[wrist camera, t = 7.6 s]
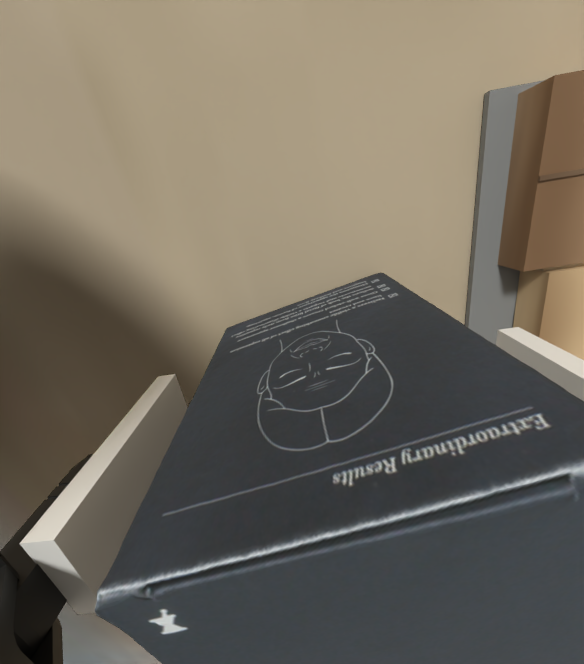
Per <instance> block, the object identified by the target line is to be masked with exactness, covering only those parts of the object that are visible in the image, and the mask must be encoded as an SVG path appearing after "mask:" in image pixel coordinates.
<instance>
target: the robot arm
mask: <svg viewBox="0 0 584 664" xmlns="http://www.w3.org/2000/svg"><path fill="white" fill-rule="evenodd" d="M496 345H497V346H498V347H500V348H501V349H503V350H504V351H506V352H507V353H509V354H510V355H512V356H513V357H515V358H517V359H518V360H520V361H521V362H523V363H525V364H527V365H528V366H530V367H532V368H534V369H535V370H537V371H538V372H539V373H541V374H542V375H544V376H545V377H547V378H549V379H550V380H552V381H553V382H555V383H556V384H558V385H560V386H561V387H563V388H564V389H565V390H567V391H568V392H569V393H571V394H573V395H574V396H576V397H578V398H579V399H581V400H583V401H584V360H582V359H580V358H578V357H576V356H574V355H572V354H570V353H568V352H566V351H564V350H563V349H561V348H559V347H557V346H555V345H553V344H551V343H549V342H547V341H545V340H543V339H541V338H539V337H537V336H535V335H533V334H531V333H529V332H527V331H525V330H523V329H521V328H519V327H515V328H507V329H500V330H498V333H497V341H496ZM187 408H188V407H187V405H186V402H185V399H184V396H183V393H182V391H181V388H180V385H179V382H178V380H177V377H176V374H172V375H164V376H158V377H157V378H156V379H155V381H154V382H153V383H152V384H151V385H150V387H149V388H148V389H147V390H146V391H145V393H144V394H143V395H142V396H141V398H140V399H139V400H138V401H137V402H136V404H135V405H134V406H133V407H132V408H131V410H130V411H129V412H128V413H127V414H126V416H125V417H124V418H123V419H122V420H121V422H120V423H119V424H118V425H117V426H116V428H115V429H114V430H113V431H112V433H111V434H110V435H109V436H108V437H107V439H106V440H105V441H104V442H103V443H102V445H101V446H100V447H99V448H98V449H97V451H96V452H95V453H94V454H90V455H88V456H87V457H86V458H85V459H83V460H82V461H81V462H80V463H78V464H77V465H76V466H75V467H73V468H72V469H71V470H70V472H69V473H68V474H67V475H66V476H65V477H64V479H63V480H62V481H61V482H60V483H59V486H58V487H56V488H55V489H54V490H53V491H52V492H51V494H50V495H49V496H48V499H47V500H44V502H43V503H42V504H41V505H40V506H39V507H38V509H37V510H36V511H35V512H34V513H33V514H32V515H31V517H30V518H29V519H28V520H27V521H26V522H25V524H24V525H23V526H22V527H21V528H20V529H19V530H18V532H17V533H16V534H15V535H14V536H13V537H12V539H11V540H10V541H9V542H8V543H7V544H6V545H5V547H4V548H3V549H2V550H1V551H0V664H63V649H62V627H61V624H60V621H59V619H58V618H57V616H58V615H59V613H60V611H61V609H62V608H63V606H64V604H65V603H66V602H67V603H68V604H69V605H70V606H71V608H72V609H73V610H74V611H75V613H76V614H77V615H80V614H92V613H95V606H96V602H97V591H98V589H99V587H100V586H101V584H102V582H103V581H104V579H105V577H106V576H107V574H108V572H109V570H110V568H111V566H112V564H113V562H114V560H115V559H116V557H117V555H118V552H119V550H120V547H121V545H122V542H123V540H124V538H125V536H126V534H127V532H128V530H129V528H130V526H131V524H132V522H133V520H134V517H135V515H136V513H137V511H138V509H139V507H140V505H141V503H142V501H143V499H144V497H145V495H146V493H147V491H148V490H149V487H150V485H151V483H152V481H153V479H154V477H155V474H156V472H157V470H158V468H159V467H160V465H161V462H162V459H163V457H164V455H165V454H166V452H167V450H168V448H169V446H170V443H171V441H172V439H173V437H174V435H175V433H176V431H177V429H178V427H179V425H180V423H181V421H182V419H183V417H184V415H185V413H186V410H187Z"/></svg>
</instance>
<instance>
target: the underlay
mask: <svg viewBox="0 0 584 664" xmlns="http://www.w3.org/2000/svg"><path fill="white" fill-rule="evenodd" d="M544 81H545V80H544ZM541 82H543V81H539V82H533V83H528V84H523V85H517V86H512V87H507V88H501V89H496V90H491V91H488V92H487V93H485V95H484V107H483V118H482V130H481V142H480V154H479V165H478V177H477V189H476V201H475V212H474V224H473V236H472V248H471V259H470V271H469V283H468V294H467V306H466V318H465V326H466V327H468V328H469V329H471V330H473V331H474V332H476V333H477V334H479V335H481V336H482V337H484V338H485V339H486V340H488V341H490V342H492V343H493V344H495V345H496V341H497V333H498V330H500V329H507V328H513V323H514V315H515V307H516V299H517V291H518V283H519V275H520V271H519V270H515V269H512V268H508V267H504V266H500V265H498V256H499V248H500V240H501V232H502V224H503V215H504V207H505V199H506V191H507V183H508V175H509V166H510V158H511V150H512V142H513V134H514V125H515V117H516V109H517V101H518V94H519V93H521V92H523V91H525V90H527V89H529V88H531V87H533V86H535V85H537V84H539V83H541Z"/></svg>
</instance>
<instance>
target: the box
mask: <svg viewBox="0 0 584 664" xmlns="http://www.w3.org/2000/svg"><path fill="white" fill-rule="evenodd" d="M95 613H96V615H97V616H99V617H101V618H103V619H104V620H106V621H108V622H109V623H111V624H113V625H115V626H116V627H118V628H120V629H121V630H122V631H124V632H125V633H126V634H128V635H129V636H130V637H132V638H133V639H134V641H136V642H137V643H138V644H140V645H141V646H142V647H143V648H144V649H145V650H146V651H148V652H149V653H150V654H151V655H153V656H154V657H155V658H156V659H157V660H159V661H160V662H161V663H162V664H584V401H583V400H581V399H579V398H578V397H576V396H574V395H573V394H571V393H569V392H568V391H567V390H565V389H564V388H563V387H561V386H560V385H558V384H556V383H555V382H553V381H552V380H550V379H549V378H547V377H545V376H544V375H542V374H541V373H539V372H538V371H537V370H535V369H534V368H532V367H530V366H528V365H527V364H525V363H523V362H521V361H520V360H518V359H517V358H515V357H513V356H512V355H510V354H509V353H507V352H506V351H504V350H503V349H501V348H500V347H498V346H497V345H495V344H493V343H492V342H490V341H488V340H486V339H485V338H484V337H482V336H481V335H479V334H477V333H476V332H474V331H473V330H471V329H469V328H468V327H466V326H465V325H463V324H462V323H460V322H459V321H457V320H456V319H454V318H453V317H451V316H450V315H448V314H446V313H445V312H443V311H442V310H440V309H439V308H437V307H435V306H434V305H433V304H430V303H429V302H428V301H426V300H424V299H423V298H421V297H419V296H418V295H417V294H415V293H413V292H412V291H410V290H409V289H407V288H405V287H404V286H403V285H401V284H399V283H398V282H396V281H395V280H393V279H392V278H390V277H389V276H387V275H385V274H384V273H378V274H374V275H371V276H369V277H366V278H363V279H360V280H357V281H355V282H352V283H349V284H346V285H344V286H341V287H338V288H335V289H333V290H330V291H327V292H324V293H322V294H319V295H316V296H314V297H311V298H308V299H305V300H303V301H300V302H297V303H294V304H291V305H288V306H286V307H283V308H280V309H278V310H275V311H272V312H269V313H267V314H264V315H261V316H258V317H256V318H253V319H250V320H248V321H245V322H242V323H239V324H237V325H234V326H232V327H229V328H227V329H226V330H225V333H224V335H223V337H222V339H221V341H220V343H219V345H218V347H217V349H216V352H215V354H214V355H213V358H212V359H211V361H210V364H209V366H208V368H207V370H206V372H205V374H204V376H203V378H202V380H201V382H200V384H199V386H198V388H197V391H196V393H195V395H194V397H193V399H192V401H191V402H190V404H189V407H188V408H187V410H186V413H185V415H184V417H183V419H182V421H181V423H180V425H179V427H178V429H177V431H176V433H175V435H174V437H173V439H172V441H171V443H170V446H169V448H168V450H167V452H166V454H165V455H164V457H163V459H162V462H161V465H160V467H159V468H158V470H157V472H156V474H155V477H154V479H153V481H152V483H151V485H150V487H149V490H148V491H147V493H146V495H145V497H144V499H143V501H142V503H141V505H140V507H139V509H138V511H137V513H136V515H135V517H134V520H133V522H132V524H131V526H130V528H129V530H128V532H127V534H126V536H125V538H124V540H123V542H122V545H121V547H120V550H119V552H118V555H117V557H116V559H115V560H114V562H113V564H112V566H111V568H110V570H109V572H108V574H107V576H106V577H105V579H104V581H103V582H102V584H101V586H100V587H99V589H98V591H97V602H96V606H95Z"/></svg>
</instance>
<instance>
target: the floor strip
mask: <svg viewBox="0 0 584 664" xmlns="http://www.w3.org/2000/svg"><path fill="white" fill-rule="evenodd" d="M577 263H584V70H581V71H576V72H571V73H565V74H560V75H555V76H553V77H551V78H549V79H547V80H545V81H543V82H541V83H539V84H537V85H535V86H533V87H531V88H529V89H527V90H525V91H523V92H521V93H519V94H518V101H517V109H516V117H515V125H514V134H513V142H512V150H511V158H510V166H509V175H508V183H507V191H506V199H505V207H504V215H503V224H502V232H501V240H500V248H499V256H498V265H500V266H504V267H508V268H512V269H515V270H519V271H523V272H524V271H531V270H538V269H544V268H551V267H557V266H564V265H570V264H577Z"/></svg>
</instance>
